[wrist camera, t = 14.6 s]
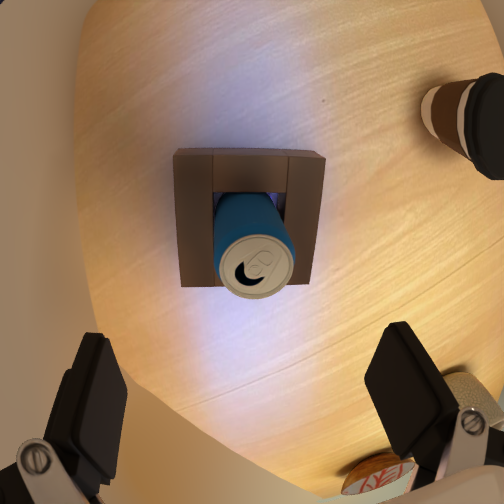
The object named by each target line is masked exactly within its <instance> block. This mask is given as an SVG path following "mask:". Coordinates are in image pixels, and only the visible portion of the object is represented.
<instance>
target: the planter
mask: <svg viewBox="0 0 504 504" xmlns="http://www.w3.org/2000/svg"><path fill="white" fill-rule="evenodd" d="M443 378H444V380H445V382H446V383H447V385H448V386H449V388H450V390H451V391H452V393H453V395H454V397H455V398H456V400H457V402H458V403H459V405H460V406H459V407H458V408H459V409H460V410H461V409H462V408H464V407H466V406H475V407H477V408H479V409H481V410H482V411H483V412H484V413H485V414H486V416H487V418H488V421H489V426H490V427H493V428H495V429H498V430H502V428H503V427H504V412H503V411H502V409H501V408H500V406H499V405H498V403H497V402H496V401H495V399H494V398H493V397H492V395H491V394H490V393H489V392H488V390H487V389H486V388H485V387H484V386H483V384H482V383H481V382H480V381H479V380H478V379H477V378H476V377H475V376H473V375H472V374H470V373H466V372H455V373H450V374H447V375H445V376H443Z"/></svg>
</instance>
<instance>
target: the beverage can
mask: <svg viewBox="0 0 504 504" xmlns="http://www.w3.org/2000/svg"><path fill="white" fill-rule="evenodd" d="M294 264H295V249H294V246H293V243H292V241H291V239H290V237H289V234H288V232H287V230H286V228H285V226H284V224H283V222H282V220H281V218H280V215H279V213H278V211H277V209H276V207H275V205H274V203H273V201H272V199H271V198H270V196H269V195H268V194H267V193H266V192H226V193H224V194H223V195H222V197H221V198H220V199H219V201H218V203H217V205H216V208H215V223H214V267H215V271H216V273H217V275H218V277H219V279H220V280H221V281H222V282H223V284H224V285H225V287H226V288H227V289H228V290H229V291H230V292H232V293H233V294H235V295H237V296H239V297H242V298H246V299H262V298H266V297H269V296H271V295H273V294H275V293H277V292H278V291H280V290H281V289H282V288H283V287H284V286H285V285H286V284H287V283H288V281H289V279H290V278H291V275H292V272H293V267H294Z"/></svg>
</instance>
